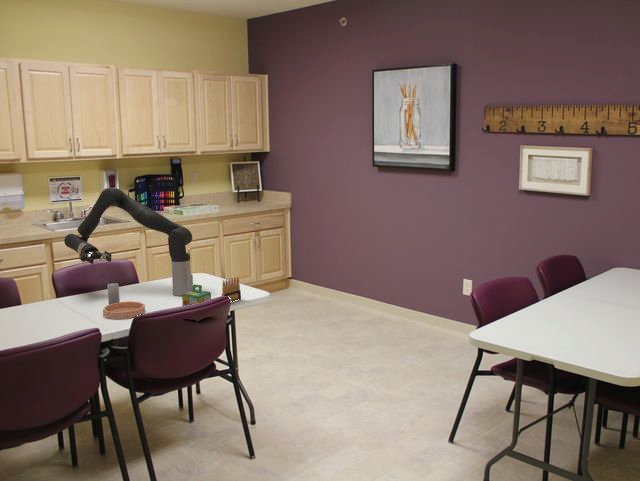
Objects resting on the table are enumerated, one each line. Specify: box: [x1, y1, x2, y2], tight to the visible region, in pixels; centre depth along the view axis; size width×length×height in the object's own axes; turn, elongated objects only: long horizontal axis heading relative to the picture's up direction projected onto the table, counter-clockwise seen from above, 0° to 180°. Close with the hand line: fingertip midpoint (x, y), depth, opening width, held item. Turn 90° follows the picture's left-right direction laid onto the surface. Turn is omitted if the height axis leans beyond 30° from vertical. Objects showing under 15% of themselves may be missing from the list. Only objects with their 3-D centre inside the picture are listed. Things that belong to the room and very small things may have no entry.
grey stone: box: [106, 282, 121, 305], centre depth 293 cm, size 5×5×10 cm
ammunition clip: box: [221, 275, 242, 303], centre depth 296 cm, size 11×2×12 cm, turn 139°
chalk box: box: [181, 283, 212, 307], centre depth 271 cm, size 9×9×15 cm
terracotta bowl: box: [102, 301, 146, 320], centre depth 280 cm, size 18×18×3 cm
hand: (101, 260), depth 298 cm, fingers open, 8 cm apart
